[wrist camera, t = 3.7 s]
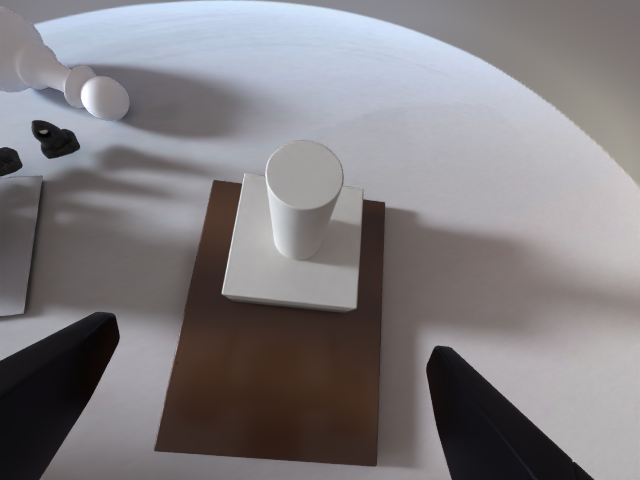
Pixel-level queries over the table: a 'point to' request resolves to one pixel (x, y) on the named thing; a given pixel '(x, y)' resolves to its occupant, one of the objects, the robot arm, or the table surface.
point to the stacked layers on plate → (16, 239)
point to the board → (275, 361)
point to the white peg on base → (297, 233)
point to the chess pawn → (53, 71)
